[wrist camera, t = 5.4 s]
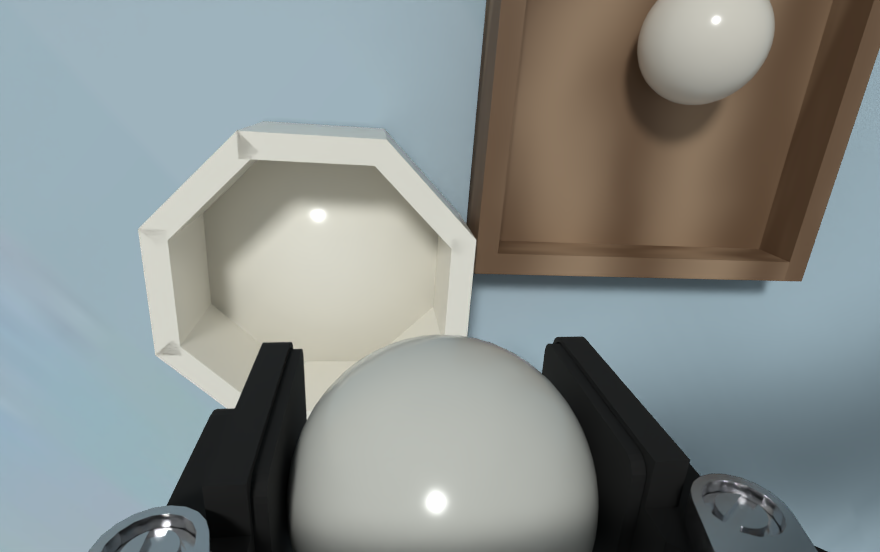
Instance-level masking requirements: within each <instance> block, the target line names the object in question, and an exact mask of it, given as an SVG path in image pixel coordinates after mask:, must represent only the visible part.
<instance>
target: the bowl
mask: <svg viewBox="0 0 880 552" xmlns="http://www.w3.org/2000/svg"><path fill="white" fill-rule="evenodd" d="M138 232H139V239H140V247H141V254H142V261H143V268H144V276H145V283H146V290H147V297H148V304H149V312H150V319H151V326H152V333H153V340H154V348H155V355H156V356H157V357H159V358H160V359H161V360H163V361H164V362H165V363H167V364H168V365H169V366H171V367H172V368H173V369H175V370H176V371H177V372H179V373H180V374H181V375H183V376H184V377H185V378H187V379H188V380H189V381H191V382H192V383H194V384H195V385H196V386H198V387H199V388H200V389H202V390H203V391H204V392H206V393H207V394H208V395H210V396H211V397H212V398H214V399H215V400H216V401H218V402H219V403H220V404H222V405H223V406H224V407H226V408H227V409H231V408H235V407H236V404H237V402H238V400H239V397H240V395H241V393H242V390H243V388H244V385H245V383H246V381H247V378H248V376H249V374H250V371H251V369H252V366H253V364H254V362H255V359H256V357H257V355H258V352H259V350H260V347H261V345H262V343H263V342H292V344H293V349H303V356H304V375H305V394H306V414H307V419H308V417H309V415H310V414H311V412H312V410H313V408H314V406H315V405H316V403H317V402H318V401H319V399H320V398H321V397H322V395H323V394H324V393H325V391H326V390H327V389H328V388H329V387H330V386H331V385H332V384H333V383H334V382H335V381H336V380H337V379H338V378H339V377H340V376H341V375H342V373H343V372H345V371H346V370H347V369H348V368H350V367H351V366H352V365H353V364H355V363H356V362H357V361H359V360H360V359H362V358H364V357H365V356H367V355H369V354H370V353H372V352H374V351H376V350H378V349H381V348H383V347H385V346H387V345H389V344H392V343H395V342H398V341H401V340H404V339H408V338H413V337H418V336H425V335H438V334H440V335H460V336H466V337H467V331H468V321H469V311H470V301H471V290H472V280H473V270H474V259H475V249H476V239H475V237H474V236H473V234H472V232H471V231H470V229H469V228H468V226H467V225H466V223H465V222H464V220H463V219H462V217H461V216H460V214H459V213H458V212H457V210H456V209H455V208H454V207H453V206H452V205H451V204H450V202H449V201H448V200H447V199H446V198H445V197H444V196H443V195H442V193H441V192H440V191H439V190H438V189H437V188H436V187H435V186H434V184H433V183H432V182H431V181H430V180H429V179H428V178H427V177H426V175H425V174H424V173H423V172H422V171H421V170H420V169H419V168H418V166H417V165H416V164H415V163H414V162H413V161H412V160H411V159H410V157H409V156H408V155H407V154H406V153H405V152H404V151H403V150H402V148H401V147H400V146H399V145H398V144H397V143H396V142H395V140H394V139H393V138H392V137H391V136H390V135H389V134H388V133H387V131H386V130H385V129H382V128H366V127H349V126H333V125H317V124H301V123H285V122H269V121H263V122H260V123H257V124H255V125H252V126H249V127H246V128H243V129H240V130H237V131H236V132H235V133H234V134H233V135H232V136H231V137H230V138H229V139H228V140H227V141H226V142H225V143H224V144H223V145H222V146H221V147H220V148H219V149H218V150H217V151H216V152H215V153H214V154H213V155H212V156H211V157H210V158H209V159H208V160H207V161H206V162H205V163H204V164H203V165H202V166H201V167H200V168H199V169H198V170H197V171H196V172H195V173H194V174H193V175H192V176H191V177H190V178H189V179H188V180H187V181H186V182H185V183H184V184H183V185H182V186H181V187H180V188H179V189H178V190H177V191H176V192H175V193H174V194H173V195H172V196H171V197H170V198H169V199H168V200H167V201H166V202H165V203H164V204H163V205H162V206H161V207H160V208H159V209H158V210H157V211H156V212H155V213H154V214H153V215H152V216H151V217H150V218H149V219H148V220H147V221H146V222H145V223H144V224H143V225H142V226H141V227H140V228H139V229H138Z"/></svg>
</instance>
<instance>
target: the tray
mask: <svg viewBox="0 0 880 552" xmlns="http://www.w3.org/2000/svg"><path fill="white" fill-rule="evenodd" d="M656 1H657V0H486V11H485V22H484V34H483V45H482V56H481V67H480V78H479V90H478V101H477V112H476V123H475V134H474V145H473V157H472V168H471V179H470V190H469V201H468V213H467V224H466V225H467V226H468V228H469V229H470V231H471V232H472V234H473V236H474V237H475V239H476V249H475V259H474V270H473V272H474V274H514V275H556V276H598V277H641V278H683V279H725V280H768V281H802V278H803V275H804V272H805V269H806V266H807V263H808V260H809V257H810V254H811V251H812V248H813V245H814V242H815V239H816V236H817V233H818V230H819V227H820V224H821V221H822V218H823V215H824V212H825V209H826V206H827V203H828V201H829V198H830V195H831V192H832V189H833V186H834V183H835V180H836V177H837V174H838V171H839V168H840V165H841V162H842V159H843V156H844V153H845V150H846V147H847V144H848V141H849V138H850V135H851V132H852V129H853V126H854V123H855V120H856V117H857V114H858V111H859V108H860V105H861V102H862V99H863V96H864V93H865V90H866V87H867V84H868V81H869V78H870V75H871V72H872V69H873V66H874V63H875V60H876V57H877V54H878V51H879V48H880V0H770V3H771V5H772V8H773V12H774V18H775V32H774V38H773V43H772V46H771V49H770V51H769V54H768V56H767V58H766V60H765V61H764V63H763V65H762V66H761V68H760V69H759V71H758V72H757V73H756V74H755V76H754V77H753V78H752V79H751V80H750V81H749V82H748V83H747V84H745V85H744V86H743V87H742V88H741V89H739V90H738V91H736V92H735V93H733V94H731V95H730V96H728V97H726V98H723V99H721V100H719V101H715V102H712V103H708V104H703V105H684V104H678V103H674V102H671V101H669V100H667V99H665V98H663V97H661V96H660V95H658V94H657V93H656V92H655V91H654V90H653V89H652V88H651V87H650V86H649V85H648V84H647V82H646V81H645V79H644V77H643V76H642V73H641V70H640V68H639V63H638V56H637V45H638V38H639V34H640V30H641V27H642V24H643V22H644V20H645V18H646V16H647V14H648V12H649V11H650V9H651V8H652V6H653V5H654V4H655V3H656Z"/></svg>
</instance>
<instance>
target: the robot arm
mask: <svg viewBox="0 0 880 552" xmlns="http://www.w3.org/2000/svg"><path fill="white" fill-rule="evenodd" d="M542 374H543V375H544V376H545V377H546V378H547V379H548V380H549V381H550V382H551V383H552V384H553V385H554V386H555V388H556V389H557V390H558V391H559V392H560V393H561V395H562V396H563V397H564V399H565V400H566V401H567V403H568V404H569V406H570V407H571V409H572V411H573V412H574V414H575V416H576V417H577V419H578V421H579V423H580V425H581V427H582V429H583V432H584V434H585V437H586V439H587V442H588V444H589V447H590V451H591V454H592V458H593V462H594V466H595V471H596V477H597V486H598V500H599V510H598V524H597V532H596V539H595V543H594V546H593V550H592V552H827V551H825V550H822V549H820V548H818V547H816V546H814V545H813V543H812V542H811V540H810V539H809V537H808V536H807V534H806V533H805V531H804V530H803V528H802V526H801V525H800V523H799V522H798V520H797V519H796V517H795V516H794V514H793V513H792V512H791V511H790V509H789V508H788V507H787V506H786V505H785V503H784V502H782V501H781V500H780V499H779V498H777V497H776V496H775V495H774V494H772V493H771V492H770V491H768V490H766V489H764V488H763V487H761V486H759V485H757V484H755V483H753V482H750V481H748V480H745V479H743V478H740V477H736V476H731V475H727V474H708V475H703V476H700V475H699V474H698V473H697V472H696V471H695V469H694V468H693V467H692V466H691V465H690V464H689V462H690V459H689V458H688V457H687V456H686V455H685V454H684V452H683V451H682V450H681V449H680V448H679V447H678V446H677V444H676V443H675V442H674V441H673V440H672V439H671V437H670V436H669V435H668V434H667V433H666V432H665V430H664V429H663V428H662V427H661V426H660V425H659V423H658V422H657V421H656V420H655V419H654V418H653V417H652V415H651V414H650V413H649V412H648V411H647V410H646V408H645V407H644V406H643V405H642V404H641V403H640V401H639V400H638V399H637V398H636V397H635V396H634V394H633V393H632V392H631V391H630V390H629V389H628V388H627V386H626V385H625V384H624V383H623V382H622V381H621V379H620V378H619V377H618V376H617V375H616V374H615V372H614V371H613V370H612V369H611V368H610V367H609V365H608V364H607V363H606V362H605V361H604V360H603V359H602V357H601V356H600V355H599V354H598V353H597V352H596V350H595V349H594V348H593V347H592V346H591V345H590V343H589V342H588V341H587V340H586V339H585V338H584V337H556V338H555V340H554V342H553V344H547V346H546V348H545V354H544V362H543V370H542ZM306 421H307V414H306V394H305V375H304V356H303V349H293V344H292V342H263V343H262V345H261V347H260V350H259V352H258V355H257V357H256V359H255V362H254V364H253V366H252V369H251V371H250V374H249V376H248V378H247V381H246V383H245V385H244V388H243V390H242V393H241V395H240V397H239V400H238V402H237V404H236V407H235V408H231V409H216V410H214V411H213V412H212V414H211V415H210V417H209V420H208V422H207V424H206V426H205V428H204V430H203V432H202V434H201V436H200V438H199V440H198V442H197V444H196V446H195V448H194V450H193V452H192V454H191V457H190V459H189V461H188V463H187V465H186V467H185V469H184V471H183V473H182V475H181V477H180V479H179V481H178V483H177V485H176V487H175V489H174V491H173V494H172V496H171V498H170V500H169V502H168V504H167V506H163V507H156V508H151V509H148V510H145V511H142V512H139V513H136V514H134V515H132V516H130V517H128V518H126V519H124V520H123V521H121V522H119V523H117V524H116V525H114V526H113V527H112V528H111V529H109V530H108V531H107V532H106V533H104V534H103V535H102V536H101V537H100V538H99V539H98V540H97V541H96V543H95V544H94V545H93V546H92V547H91V549H90V550H89V552H293V551H292V547H291V543H290V538H289V532H288V526H287V508H286V493H287V484H288V477H289V470H290V465H291V460H292V457H293V453H294V450H295V447H296V444H297V441H298V439H299V436H300V433H301V430H302V428H303V427H304V425H305V423H306Z"/></svg>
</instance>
